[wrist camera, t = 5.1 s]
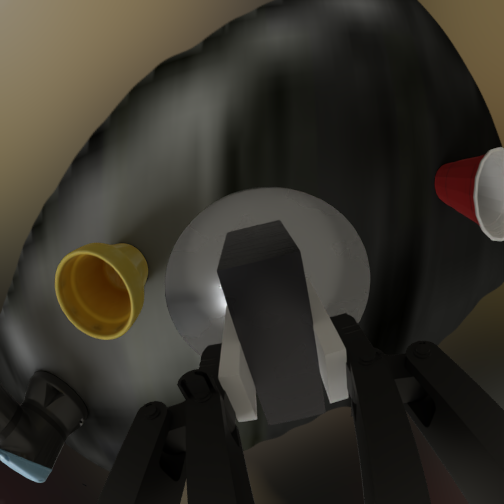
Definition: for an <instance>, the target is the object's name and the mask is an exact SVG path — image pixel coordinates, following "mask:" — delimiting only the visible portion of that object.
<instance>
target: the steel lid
mask: <svg viewBox="0 0 504 504" xmlns="http://www.w3.org/2000/svg"><path fill="white" fill-rule="evenodd" d="M307 277H308V278H309V280H310V282H311V284H312V286H313V288H314V289H315V291H316V293H317V295H318V297H319V299H320V301H321V302H322V304H323V306H324V308H325V310H326V312H327V314H328V316H329V317H333V316H337V315H340V314H343V313H347V314H348V315H350V316H352V317H354V319H355V320H356V322H357V323H358V322H359V321H360V319H361V317H362V314H363V312H364V309H365V307H366V303H367V300H368V296H369V289H370V268H369V261H368V257H367V254H366V250H365V247H364V245H363V243H362V241H361V239H360V237H359V235H358V233H357V232H356V230H355V229H354V227H353V226H352V225H351V223H350V222H349V221H348V220H347V219H346V218H345V217H344V216H343V215H342V214H341V213H340V212H339V211H337V210H336V209H335V208H334V207H332V206H331V205H329V204H328V203H326V202H324V201H322V200H321V199H319V198H317V197H314V196H312V195H309V194H307V193H304V192H302V191H298V190H294V189H290V188H284V187H274V186H271V187H256V188H250V189H244V190H241V191H238V192H235V193H232V194H229V195H227V196H225V197H223V198H221V199H219V200H217V201H216V202H214V203H213V204H211V205H210V206H208V207H207V208H205V209H204V210H203V211H202V212H201V213H200V214H199V215H197V216H196V217H195V218H194V219H193V220H192V221H191V222H190V224H189V225H188V226H187V227H186V228H185V230H184V231H183V232H182V234H181V235H180V237H179V238H178V240H177V242H176V243H175V245H174V248H173V250H172V252H171V255H170V257H169V261H168V265H167V268H166V276H165V296H166V301H167V307H168V310H169V313H170V316H171V319H172V321H173V323H174V325H175V327H176V329H177V330H178V332H179V333H180V335H181V336H182V337H183V339H184V340H185V341H186V342H187V343H188V344H189V346H190V347H191V348H192V349H194V350H195V351H196V352H197V353H198V354H199V355H201V356H202V352H203V351H204V350H205V348H206V347H207V346H208V345H214V344H219V343H222V338H223V330H224V322H225V313H226V305H227V306H228V309H229V312H230V315H231V318H232V321H233V324H234V327H235V330H236V333H237V336H238V339H239V342H240V344H241V347H242V350H243V353H244V356H245V359H246V362H247V365H248V368H249V370H250V373H251V376H252V379H253V382H254V385H255V387H256V391H257V394H258V397H259V400H260V402H261V405H262V408H263V410H264V413H265V416H266V418H267V421H268V424H269V425H273V424H279V423H284V422H289V421H294V420H298V419H302V418H307V417H311V416H315V415H319V414H323V413H325V404H324V396H323V387H322V380H321V374H320V368H319V361H318V355H317V348H316V341H315V335H314V329H313V319H312V312H311V306H310V301H309V295H308V289H307V284H306V278H307Z"/></svg>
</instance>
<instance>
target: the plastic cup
mask: <svg viewBox="0 0 504 504" xmlns="http://www.w3.org/2000/svg"><path fill="white" fill-rule="evenodd" d="M435 189H436V193H437V195H438V197H439V199H441V200H442V201H443V202H444V203H445V204H447V205H449V206H450V207H452V208H454V209H455V210H456V211H458V212H460V213H461V214H463V215H464V216H466V217H468V218H469V219H471V220H472V221H474V222H475V223H477V224H478V225H479V226H480V227H481V229H482V231H483V232H484V233H485V234H486V235H487V236H488V237H489V238H490V239H491V240H495V241H503V240H504V148H502V147H499V148H495V149H492V150H489V151H488V152H487V153H486V154H485V155H482V156H478V157H473V158H468V159H463V160H459V161H456V162H451V163H447V164H445V165H443V166H441V167H440V168H439V169H438V171H437V173H436V176H435Z"/></svg>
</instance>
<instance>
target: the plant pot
mask: <svg viewBox="0 0 504 504" xmlns="http://www.w3.org/2000/svg"><path fill="white" fill-rule="evenodd" d="M147 277H148V266H147V262H146V260H145V258H144V256H143V255H142V253H141V252H140V251H139V250H138V249H137V248H135V247H134V246H132V245H129V244H125V243H120V244H114V245H108V244H105V243H90V244H87V245H84V246H82V247H80V248H78V249H76V250H74V251H72V252H70V253H69V254H67V255H66V256H65V257H64V258H63V259H62V261H61V262H60V264H59V266H58V268H57V271H56V275H55V290H56V295H57V299H58V302H59V304H60V306H61V308H62V310H63V312H64V314H65V315H66V317H67V318H68V319H69V320H70V321H71V323H72V324H73V325H74V326H76V327H77V328H78V329H79V330H80V331H82V332H84V333H85V334H87V335H89V336H91V337H94V338H97V339H103V340H110V339H115V338H118V337H120V336H122V335H123V334H125V333H126V332H127V331H128V330H129V329H130V327H131V326H132V325H133V323H134V322H135V320H136V319H137V317H138V315H139V314H140V312H141V309H142V306H143V302H144V286H145V283H146V280H147Z"/></svg>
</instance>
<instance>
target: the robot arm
mask: <svg viewBox="0 0 504 504" xmlns="http://www.w3.org/2000/svg"><path fill="white" fill-rule="evenodd" d="M306 284H307V289H308V295H309V301H310V306H311V312H312V319H313V329H314V335H315V341H316V348H317V355H318V361H319V368H320V374H321V377H322V380H323V383H324V386H325V389H326V392H327V395H328V398H329V401H330V403H333V402H337V401H340V400H343V399H347V398H348V392H349V394H350V396H351V412H352V413H351V416H353V418H354V424H355V431H356V437H357V444H358V451H359V458H360V466H361V474H362V483H363V493H364V504H431V502H430V497H429V492H428V488H427V483H426V479H425V476H424V471H423V467H422V464H421V460H420V456H419V453H418V449H417V446H416V442H415V439H414V436H413V433H412V430H411V426H410V423H409V420H408V417H407V414H406V412H407V413H408V414H409V416H410V417H411V419H412V420H413V421H414V423H415V424H416V426H417V427H418V428H419V430H420V431H421V432H422V434H423V436H424V437H425V438H426V440H427V441H428V443H429V444H430V446H431V447H432V449H433V450H434V451H435V453H436V454H437V456H438V457H439V459H440V460H441V462H442V463H443V464H444V466H445V468H446V469H447V471H448V472H449V474H450V475H451V477H452V478H453V480H454V481H455V483H456V484H457V486H458V487H459V489H460V490H461V492H462V493H463V495H464V496H465V498H466V500H467V501H468V503H469V504H504V410H503V409H502V408H501V407H500V406H499V405H498V404H497V403H496V402H495V401H494V400H493V399H492V398H491V397H490V396H489V395H488V394H487V393H486V392H485V391H484V390H483V389H482V388H481V387H480V386H479V385H478V384H477V383H476V382H475V381H474V380H473V379H472V378H471V377H470V376H469V375H468V374H467V373H466V372H464V370H462V369H461V368H460V367H459V366H458V365H457V364H456V363H455V362H454V361H453V360H452V359H451V358H450V357H449V356H447V355H446V354H445V353H444V352H443V351H442V350H441V349H440V348H439V347H438V346H437V345H435V344H434V343H432V342H429V341H418V342H414V343H412V344H411V345H410V346H409V347H408V348H407V350H406V353H405V354H397V355H385V354H384V353H383V352H382V351H381V350H379V349H377V348H373V346H372V345H371V343H370V342H369V340H368V339H367V337H366V336H365V334H364V332H363V331H362V330H361V328H360V326H359V325H358V323H357V322H356V320H355V319H354V317H352V316H350V315H348V314H347V313H343V314H340V315H337V316H333V317H329V316H328V314H327V312H326V310H325V308H324V306H323V304H322V302H321V301H320V299H319V297H318V295H317V293H316V291H315V289H314V288H313V286H312V284H311V282H310V280H309V278H308V277H307V278H306ZM177 385H178V387H179V389H180V391H181V392H182V394H183V396H184V397H185V399H186V401H184V402H182V403H179V404H177V405H174V406H170V407H167V406H166V405H165V404H164V403H162V402H158V401H154V402H150V403H147V404H145V405H144V406H142V407H141V408H140V409H139V411H138V412H137V414H136V417H135V419H134V421H133V423H132V425H131V427H130V429H129V431H128V434H127V436H126V438H125V440H124V442H123V444H122V447H121V449H120V451H119V453H118V455H117V458H116V460H115V462H114V464H113V467H112V469H111V471H110V473H109V476H108V478H107V480H106V483H105V485H104V487H103V490H102V492H101V494H100V497H99V499H98V501H97V504H180V502H181V497H182V494H183V490H184V486H185V481H186V478H187V495H188V504H255V503H254V499H253V494H252V491H251V486H250V481H249V477H248V472H247V468H246V463H245V459H244V454H243V449H242V444H241V439H240V434H239V430H238V428H237V426H236V424H235V420H236V417H237V419H238V421H239V422H243V421H250V420H257V407H256V387H255V385H254V382H253V379H252V376H251V373H250V370H249V368H248V365H247V362H246V359H245V356H244V353H243V350H242V347H241V344H240V342H239V339H238V336H237V333H236V330H235V327H234V324H233V321H232V318H231V315H230V312H229V309H228V306H227V305H226V313H225V322H224V330H223V338H222V343H219V344H214V345H208V346H207V347H206V348H205V350H204V351H203V352H202V356H201V362H200V368H199V369H196V370H192V371H189V372H187V373H186V374H184V375H183V376H182V377H181V378H180V379H179V381H178V384H177ZM405 410H406V411H405ZM87 416H88V411H87V408H86V406H85V404H84V403H83V401H82V400H81V398H80V397H79V396H78V395H77V394H76V393H75V391H74V390H72V389H71V388H70V387H69V386H68V385H67V384H66V383H64V382H63V381H62V380H60V379H59V378H57V377H55V376H54V375H52V374H50V373H47V372H43V371H37V372H35V373H34V375H33V376H32V377H31V378H30V380H29V383H28V387H27V390H26V394H25V398H24V401H23V403H22V404H21V405H20V406H19V404H18V403H17V402H16V401H15V400H14V398H13V397H12V396H11V395H10V394H9V392H8V391H7V390H6V389H5V387H4V386H3V385H2V384H1V382H0V460H1V461H2V462H4V463H5V464H6V465H8V466H9V467H10V468H12V469H13V470H15V471H16V472H18V473H20V474H21V475H23V476H25V477H27V478H28V479H31V480H32V481H35V482H38V483H42V482H44V481H45V480H46V479H47V477H48V475H49V474H50V472H51V471H52V468H53V466H54V463H55V461H56V459H57V457H58V455H59V453H60V450H61V449H62V447H63V445H64V443H65V441H66V439H67V437H68V436H69V435H70V434H72V433H73V432H74V431H75V430H77V429H78V428H79V427H80V426H82V425H83V423H84V422H85V420H86V418H87Z"/></svg>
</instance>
